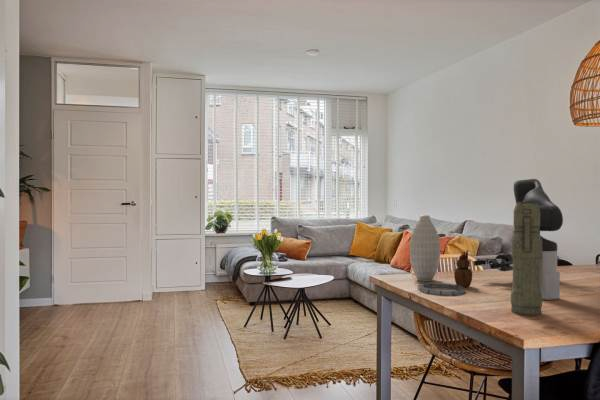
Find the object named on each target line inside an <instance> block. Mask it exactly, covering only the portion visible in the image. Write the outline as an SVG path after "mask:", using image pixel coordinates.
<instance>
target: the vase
mask: <svg viewBox="0 0 600 400" xmlns="http://www.w3.org/2000/svg"><path fill="white" fill-rule="evenodd" d="M419 216H420V217H419V220H418V222H417V223H416V225H415V227H414V228H413V230H412V233H411V235H410V242H409V260H410V266H411V268H412V271H413V274H414V276H415V278H416V279H417V281H419V282H432V281H433V279H434V278H435V276H436V274H437V271H438V269H439V265H440V259H441V257H440V256H441V244H440V242H441V241H440V237H439V234H438V231H437V229H436V227H435V225H434V224H433V222H432V221H431V218H430V215H427V214H426V215H425V214H424V215H423V214H421V215H419Z"/></svg>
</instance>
